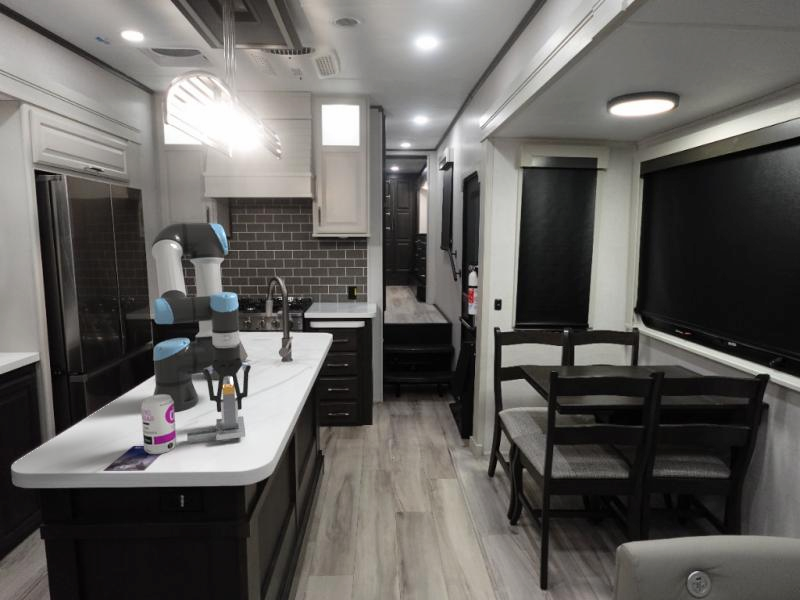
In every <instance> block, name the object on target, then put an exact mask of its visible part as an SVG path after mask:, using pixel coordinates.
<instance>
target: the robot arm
mask: <svg viewBox="0 0 800 600" xmlns="http://www.w3.org/2000/svg"><path fill="white" fill-rule="evenodd" d="M226 235H227V234H226V232H225V229H224V227H223V226H222V225H221V224H219V223H212V222H211V223H210V222H193V223H192V222H185V223H184V222H176V223H171V224H169V225H166V226H165V227H163V228H162V229H160V231H158V232H157V233H156V234H155V236H154V237H153V240H152V242H151V247H150V249H151V250H150V251H151V255H152V257H153V259H154V260H155V265H156V274H157V285H158V294H159V298H156V299H154V300H153V302H152V304H153V317H154V318H153V319H154V322H155V323H156V324H158V325H173V324H184V323H185V324H186V323H193V322H196V323H197V322H198V327H199V332H198V333H197V334H196V335H195V340H194V341H191V340H190V339H189V337H188V338H187V337H176V338H171V339H170V338H169V339H166V340H164V341H161V342H159V343H157V344H156V345H155V346H154V348H153V359H152V361H154V363H153V364H154V381H155V386H154V387H155V388H154V392H153V394H152V396H153V395H160V394H166V395H170V396H171V398H172V400H173V401H174V413H176V412H181V411H184V410H185V411H186V410H188V409H191V408H193V407H196V405H198V403H199V394H198V393H197V390H196V388H195V386H194V383H193V378H192V375H198V374H203V373H205V375H206V377H207V379H206V381H207V388H208V395H209V401H210V402H215V403H216V412H217V413H221V416H220V417H221V419H222V423H224V403H223V398H222V396H223V389H222V388H223V380H224V377H226V376H232V379H233V383H234V387H235V415H236V422H237V421H238V417H239V411H241V410H242V409H243V405H242V404H243V403H242V400H243V399H244V398H248V396H249V395H248V392H249V373H250V371H251V368H252V367H251V363H249V362H248V363H245V362H244V363H242V360H241V358H240V345H239V343H240V341H241V339H240V325H239V324H240V322H239V306H240V305H239V301H238V300H239V299H238V295H237V293H235V292H230V291H223V286H222V274H221V264H222V262H223V261H224V260H225V256H226V255H228V254H229V249H228V246H229V245H228V240H227V236H226ZM182 256H183V257H184V256H185V257H186V256H187V257H189V262H190V263H192V264H193V265H194V271H195V286H196V296H187V290H186V286H185V285H186V283H185V277H184V272H183V271H184V270H183V265H182V259H181V258H182ZM240 367H241V368H242V371H243V381H242V382H243V384H242V385H243V387H242V392H241V388H240V385H239V380H238V376H237V374H238V372H239V371H238V370H241V368H240ZM212 372H217V373H218V374H219V379H218V383H217V391H216V395H215V392H214V391H215V390H214V385H213V379H212V376H211V374H212ZM236 373H237V374H236Z"/></svg>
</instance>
